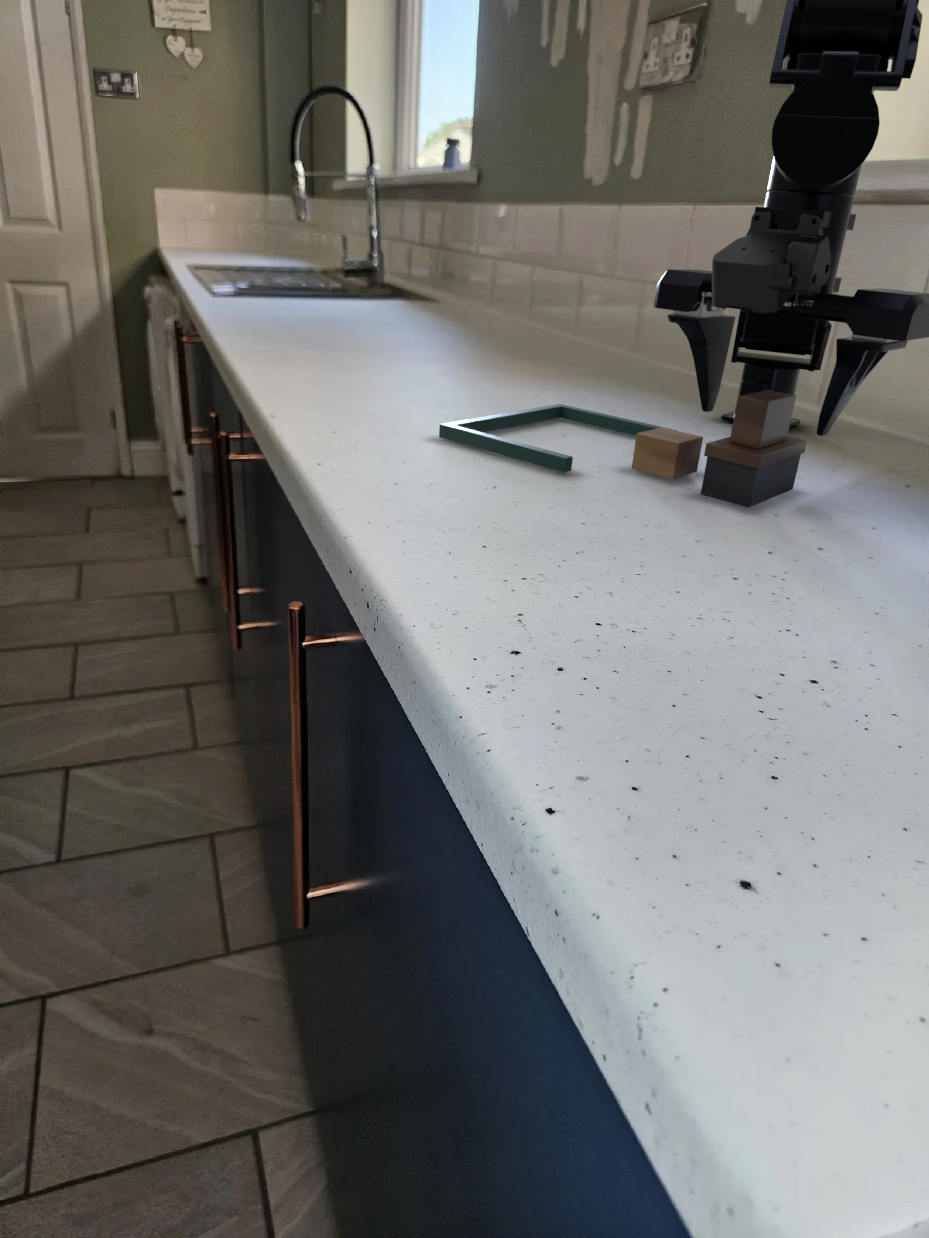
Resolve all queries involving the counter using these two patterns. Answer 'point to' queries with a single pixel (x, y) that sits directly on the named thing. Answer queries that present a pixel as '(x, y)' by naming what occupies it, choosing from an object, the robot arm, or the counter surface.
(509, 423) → the frame
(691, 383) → the counter surface
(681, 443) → the cork block
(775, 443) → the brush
